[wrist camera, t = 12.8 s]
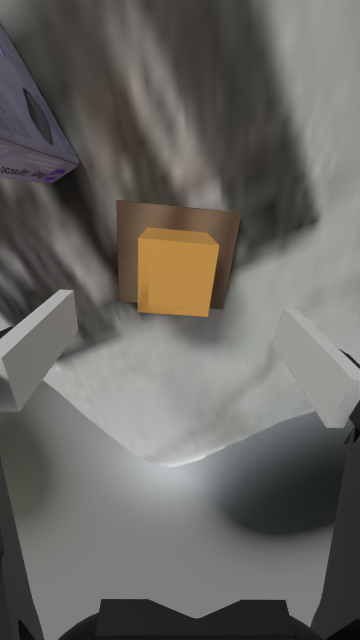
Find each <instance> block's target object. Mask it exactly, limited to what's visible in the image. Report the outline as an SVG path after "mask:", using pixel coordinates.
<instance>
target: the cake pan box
mask: <svg viewBox="0 0 360 640" xmlns="http://www.w3.org/2000/svg"><path fill="white" fill-rule="evenodd" d="M79 164H80V161H79V159H78V157H77V155H76V153H75V152H74V150H73V149H72V147H71V145H70V144H69V142H68V140H67V138H66V137H65V135H64V133H63V132H62V130H61V128H60V126H59V125H58V123H57V121H56V119H55V117H54V116H53V114H52V112H51V110H50V109H49V107H48V105H47V103H46V102H45V100H44V98H43V96H42V95H41V93H40V92H39V90H38V86H37V85H36V83H35V81H34V80H33V78H32V76H31V75H30V73H29V71H28V69H27V68H26V66H25V64H24V63H23V61H22V59H21V57H20V56H19V54H18V52H17V51H16V49H15V47H14V45H13V44H12V42H11V40H10V39H9V37H8V35H7V34H6V32H5V31H4V29H3V28H2V26H1V25H0V178H8V179H17V180H26V181H34V182H42V183H53V182H55V181H56V180H58V179H59V178H61V177H62V176H64V175H65V174H67V173H68V172H70V171H71V170H73V169H74V168H76V167H77V166H78V165H79Z"/></svg>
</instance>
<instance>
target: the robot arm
mask: <svg viewBox="0 0 360 640" xmlns="http://www.w3.org/2000/svg"><path fill="white" fill-rule="evenodd" d="M77 331H78V326H77V318H76V310H75V302H74V294H73V291H72V290H59V291H58V292H57V293H55V294H54V295H53V296H52V297H50V298H49V299H48V300H47V301H46V302H44V303H43V304H42V305H41V306H40V307H38V308H37V309H36V310H35V311H34V312H32V313H31V314H30V315H29V316H27V317H26V318H25V319H24V320H23V321H21V322H20V323H19V324H18V325H17V326H15V327H9V328H6V329H4V330H2V331H0V411H7V412H19V411H20V410H21V408H22V407H23V406H24V404H25V403H26V402H27V400H28V399H29V397H30V396H31V394H32V393H33V392H34V390H35V389H36V388H37V386H38V385H39V383H40V382H41V381H42V379H43V378H44V377H45V375H46V374H47V372H48V371H49V370H50V368H51V367H52V365H53V364H54V363H55V361H56V360H57V359H58V357H59V356H60V354H61V353H62V352H63V350H64V349H65V347H66V346H67V345H68V343H69V342H70V340H71V339H72V338H73V336H74V335H75V333H76V332H77ZM272 344H273V346H274V347H275V349H276V350H277V352H278V354H279V355H280V357H281V358H282V360H283V361H284V363H285V364H286V366H287V367H288V369H289V371H290V372H291V374H292V375H293V377H294V378H295V380H296V381H297V383H298V384H299V386H300V387H301V389H302V391H303V392H304V394H305V395H306V397H307V398H308V400H309V401H310V403H311V404H312V406H313V408H314V409H315V411H316V412H317V414H318V415H319V417H320V418H321V420H322V421H323V423H324V424H325V426H326V427H328V428H343V427H344V426H345V424H346V423H347V421H348V419H350V420H351V421H352V423H353V424H354V425H355V427H354V428H353V430H352V431H351V433H350V434H349V436H348V437H347V439H346V440H345V442H344V444H347V443H348V442H349V446H348V452H347V458H346V463H345V469H344V474H343V480H342V486H341V492H340V497H339V503H338V508H337V514H336V520H335V526H334V531H333V537H332V542H331V548H330V554H329V559H328V565H327V571H326V577H325V582H324V588H323V593H322V598H321V601H320V604H319V606H318V608H317V611H316V613H315V615H314V617H313V621H312V623H311V626H310V628H309V627H308V626H307V625H305V624H304V623H302V622H301V621H299V620H297V619H295V618H294V617H292V616H290V615H289V612H288V609H287V604H286V601H285V600H240V601H238V602H236V603H233V604H231V605H229V606H227V607H225V608H222V609H220V610H218V611H215V612H213V613H211V614H208V615H206V616H204V617H202V618H198V619H195V618H191V617H189V616H186V615H184V614H182V613H179V612H177V611H174V610H172V609H170V608H167V607H165V606H163V605H160V604H158V603H156V602H153V601H151V600H148V599H101V604H100V610H99V613H96V614H94V615H92V616H89V617H88V618H86V619H84V620H83V621H81V622H79V623H77V624H76V625H75V626H74V627H72V628H71V629H70V630H68V631H67V632H66V633H65V634H63V635H62V636H61V637H60V638H59V639H58V640H360V365H359V364H358V363H357V362H356V361H355V360H354V359H353V358H352V357H351V356H350V355H348V354H347V353H345V352H343V351H342V350H340V349H338V348H337V347H336V346H335V345H334V344H333V343H332V342H331V341H329V340H328V339H327V338H326V337H325V336H324V335H323V334H322V333H321V332H320V331H319V330H318V329H317V328H316V327H315V326H314V325H313V324H312V323H310V322H309V321H308V320H307V319H306V318H305V317H304V316H303V315H302V314H301V313H300V312H299V311H298V310H297V309H296V308H284V309H283V312H282V315H281V318H280V321H279V324H278V327H277V330H276V333H275V336H274V339H273V342H272ZM0 640H44V637H43V633H42V629H41V625H40V622H39V618H38V615H37V612H36V609H35V606H34V603H33V599H32V596H31V592H30V587H29V583H28V578H27V574H26V569H25V565H24V560H23V556H22V551H21V547H20V542H19V538H18V533H17V529H16V524H15V520H14V516H13V511H12V506H11V502H10V498H9V493H8V489H7V484H6V480H5V476H4V471H3V466H2V462H1V457H0Z"/></svg>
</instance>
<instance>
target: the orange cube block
mask: <svg viewBox="0 0 360 640" xmlns="http://www.w3.org/2000/svg"><path fill="white" fill-rule="evenodd" d="M218 251H219V244H218V243H217V242H216V241H215V240H214V239H213V238H212V237H211V236H210V235H209V234H208V233H204V232H193V231H183V230H172V229H161V228H151V227H147V228H146V230H145V231H144V232H143V233H142V234H141V235H140V237H139V238H138V312H145V313H159V314H174V315H188V316H202V317H208V312H209V306H210V300H211V294H212V288H213V282H214V275H215V269H216V263H217V257H218Z"/></svg>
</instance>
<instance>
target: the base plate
mask: <svg viewBox="0 0 360 640" xmlns="http://www.w3.org/2000/svg"><path fill="white" fill-rule="evenodd" d="M116 210H117V247H118V283H119V301H120V302H134V303H138V238H139V237H140V235H141V234H142V233H143V232H144V231H145V230H146V228H147V227H151V228H161V229H172V230H183V231H193V232H204V233H208V234H209V235H210V236H211V237H212V238H213V239H214V240H215V241H216V242H217V243H218V244H219V251H218V257H217V263H216V269H215V275H214V282H213V288H212V294H211V300H210V306H209V308H212V309H223V305H224V300H225V295H226V290H227V285H228V279H229V274H230V269H231V264H232V259H233V254H234V249H235V244H236V238H237V233H238V228H239V223H240V218H241V213H237V212H228V211H218V210H208V209H199V208H189V207H179V206H170V205H160V204H150V203H141V202H131V201H121V200H118V201H116Z"/></svg>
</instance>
